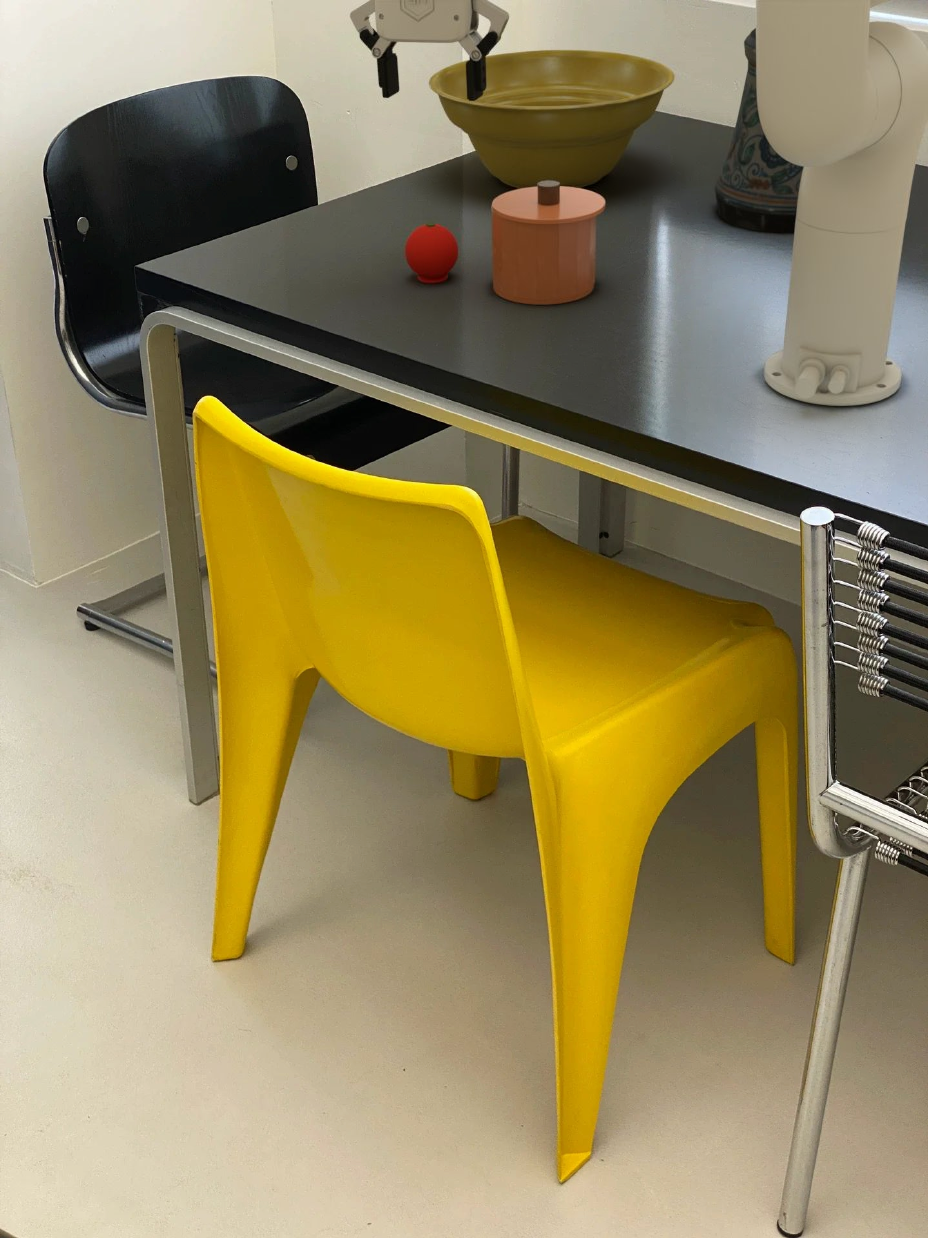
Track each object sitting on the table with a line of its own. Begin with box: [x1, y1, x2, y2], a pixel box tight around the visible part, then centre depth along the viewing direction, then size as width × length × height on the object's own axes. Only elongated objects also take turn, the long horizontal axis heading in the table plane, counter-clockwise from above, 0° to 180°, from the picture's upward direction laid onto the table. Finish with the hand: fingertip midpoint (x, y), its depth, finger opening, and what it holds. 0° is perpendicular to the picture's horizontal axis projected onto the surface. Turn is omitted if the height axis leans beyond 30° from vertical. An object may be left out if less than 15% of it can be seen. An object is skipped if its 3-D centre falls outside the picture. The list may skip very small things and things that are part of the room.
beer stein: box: [714, 27, 804, 234], centre depth 170 cm, size 16×19×25 cm
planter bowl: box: [428, 49, 675, 189], centre depth 190 cm, size 32×32×13 cm
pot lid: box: [491, 181, 606, 224], centre depth 153 cm, size 12×12×3 cm
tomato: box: [404, 221, 459, 284], centre depth 160 cm, size 6×6×6 cm
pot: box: [490, 205, 597, 306], centre depth 156 cm, size 11×11×9 cm
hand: (432, 96), depth 151 cm, fingers open, 9 cm apart
